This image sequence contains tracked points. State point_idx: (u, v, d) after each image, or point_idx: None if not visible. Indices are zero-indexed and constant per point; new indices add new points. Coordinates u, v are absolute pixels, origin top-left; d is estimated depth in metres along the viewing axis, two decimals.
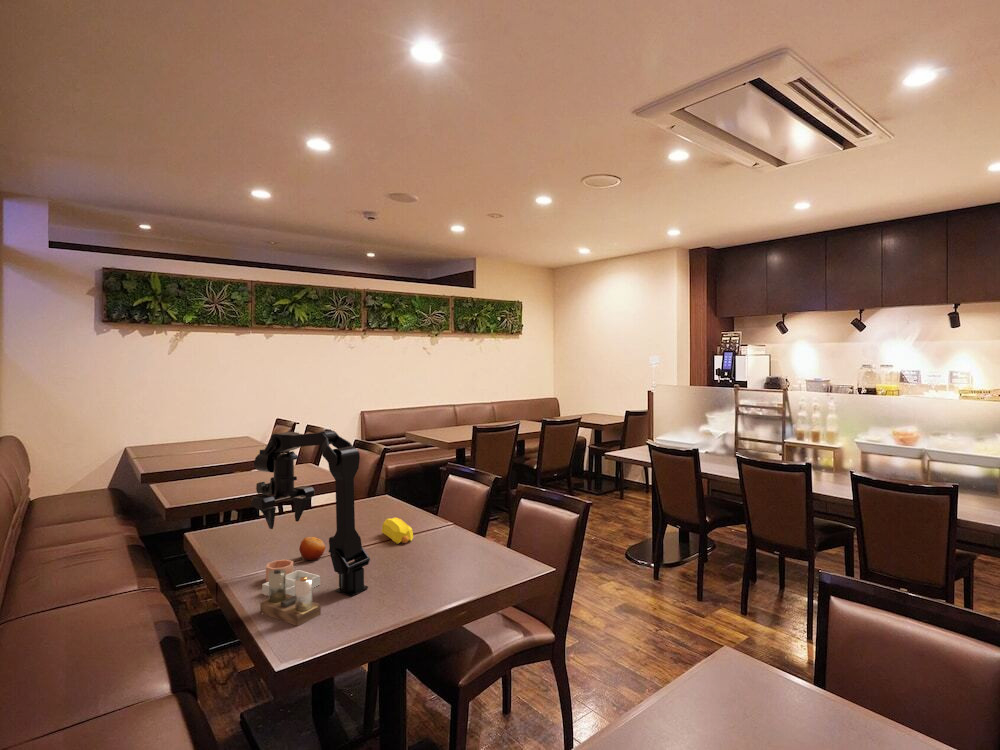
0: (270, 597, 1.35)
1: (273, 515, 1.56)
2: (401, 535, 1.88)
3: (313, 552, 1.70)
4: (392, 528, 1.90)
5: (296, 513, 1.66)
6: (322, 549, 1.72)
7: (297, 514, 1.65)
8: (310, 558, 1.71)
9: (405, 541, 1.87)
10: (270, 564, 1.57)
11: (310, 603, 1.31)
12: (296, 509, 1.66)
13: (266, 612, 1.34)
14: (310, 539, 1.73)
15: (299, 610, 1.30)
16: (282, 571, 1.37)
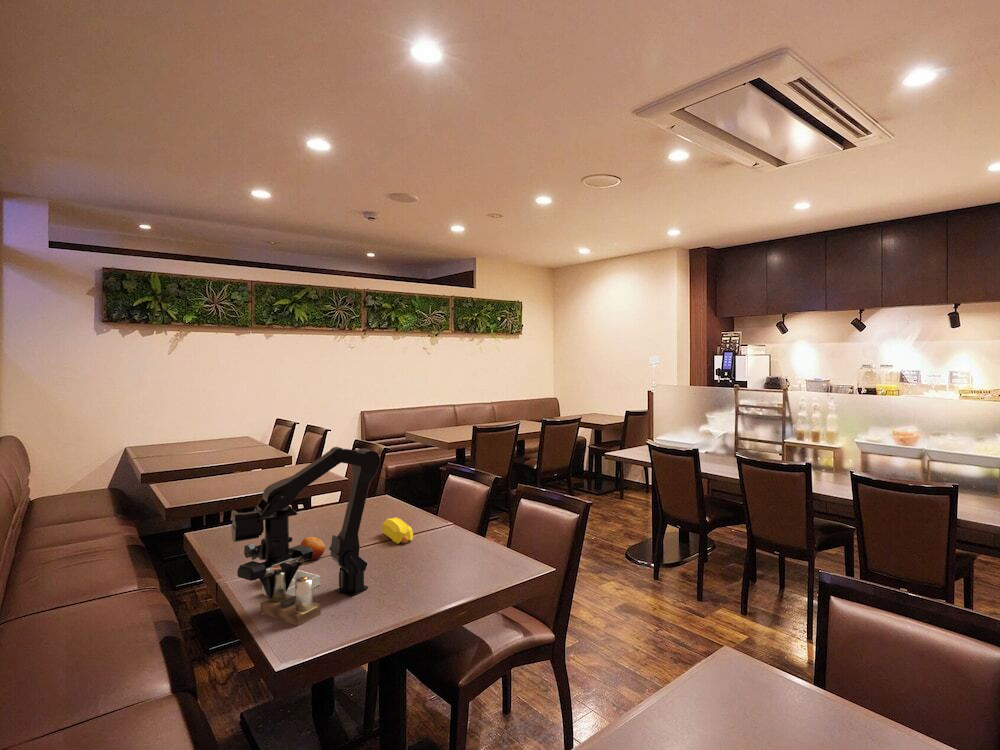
0: None
1: (272, 583, 1.33)
2: (401, 535, 1.88)
3: (313, 552, 1.70)
4: (392, 528, 1.91)
5: None
6: (322, 549, 1.72)
7: None
8: None
9: (405, 541, 1.87)
10: None
11: (310, 603, 1.31)
12: None
13: (266, 612, 1.34)
14: (310, 539, 1.73)
15: (299, 610, 1.30)
16: (282, 571, 1.37)
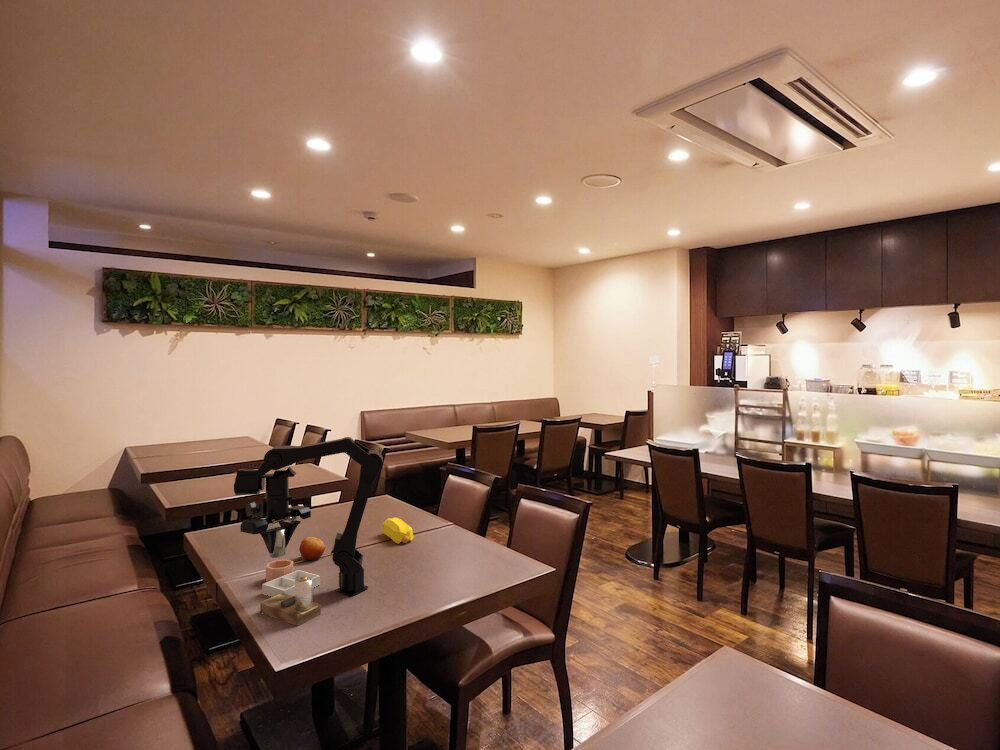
0: None
1: (273, 538, 1.41)
2: (401, 535, 1.88)
3: (313, 552, 1.70)
4: (392, 528, 1.91)
5: None
6: (322, 549, 1.72)
7: None
8: (310, 558, 1.71)
9: (405, 541, 1.87)
10: (270, 564, 1.57)
11: (310, 603, 1.31)
12: None
13: (266, 612, 1.34)
14: (310, 539, 1.73)
15: (299, 610, 1.30)
16: (282, 528, 1.45)
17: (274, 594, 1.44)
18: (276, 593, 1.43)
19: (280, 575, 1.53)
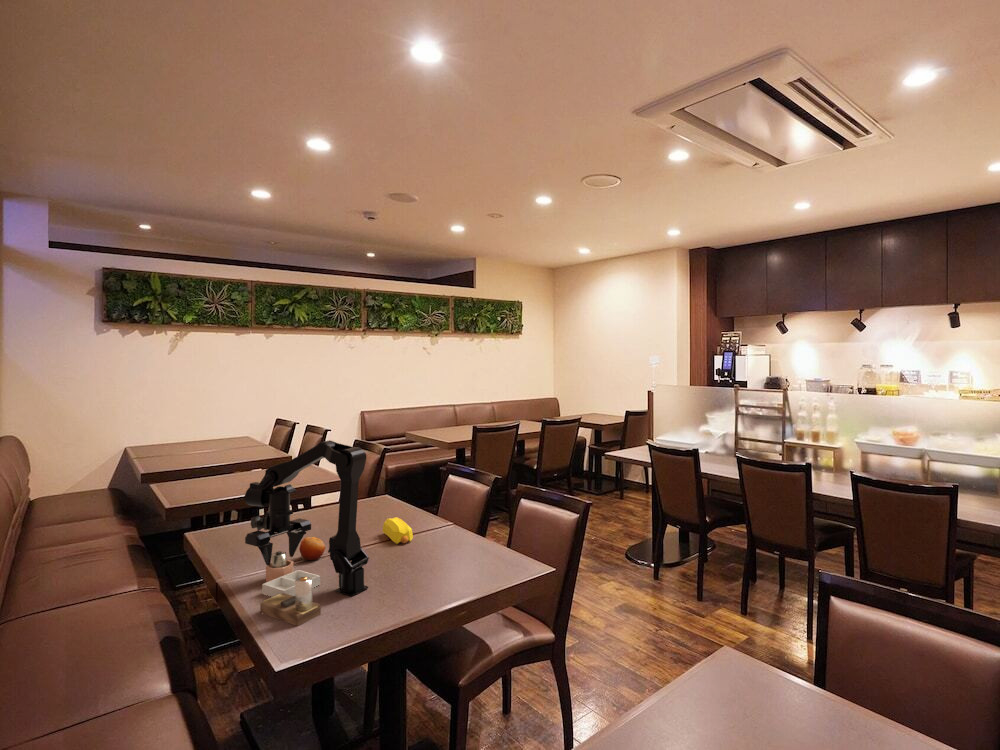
0: None
1: (270, 551, 1.51)
2: (400, 535, 1.88)
3: (313, 552, 1.70)
4: (391, 528, 1.91)
5: (290, 548, 1.59)
6: (322, 549, 1.72)
7: (291, 549, 1.59)
8: (310, 558, 1.71)
9: (404, 541, 1.87)
10: (270, 564, 1.57)
11: (310, 603, 1.31)
12: (290, 544, 1.60)
13: (266, 612, 1.34)
14: (310, 539, 1.73)
15: (299, 610, 1.30)
16: (283, 552, 1.57)
17: (274, 594, 1.44)
18: (276, 593, 1.43)
19: (280, 575, 1.53)
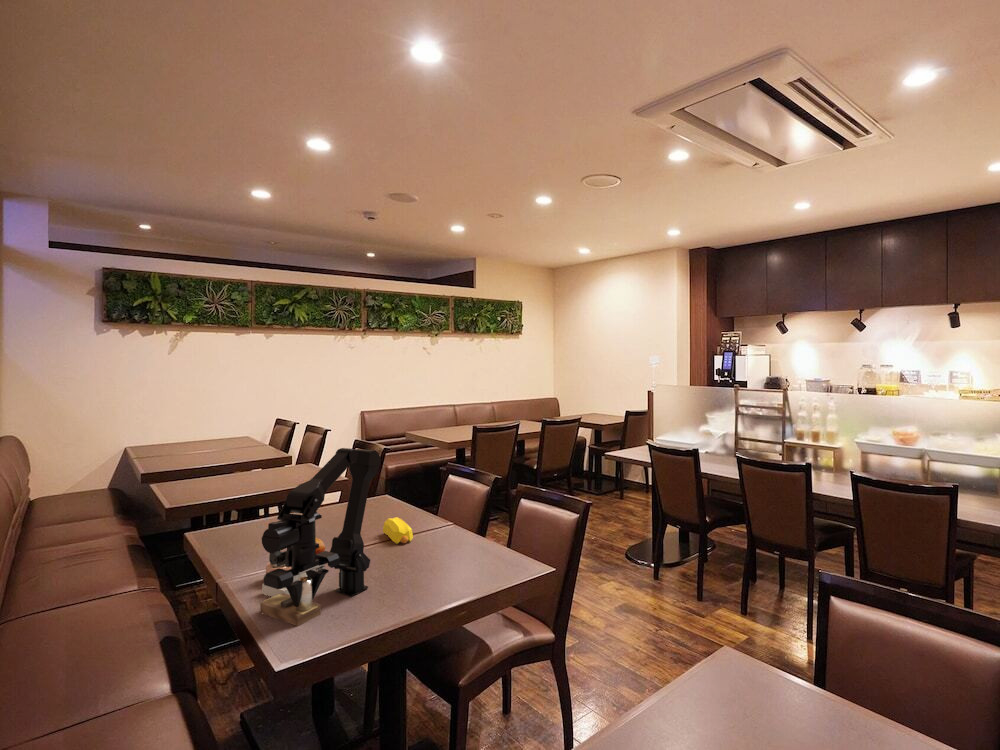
0: None
1: (299, 591, 1.28)
2: (400, 535, 1.88)
3: None
4: (391, 528, 1.91)
5: None
6: (322, 549, 1.72)
7: None
8: None
9: (404, 541, 1.87)
10: (270, 564, 1.57)
11: (310, 603, 1.31)
12: None
13: (266, 612, 1.34)
14: None
15: (299, 610, 1.30)
16: None
17: (274, 594, 1.44)
18: (276, 593, 1.43)
19: None
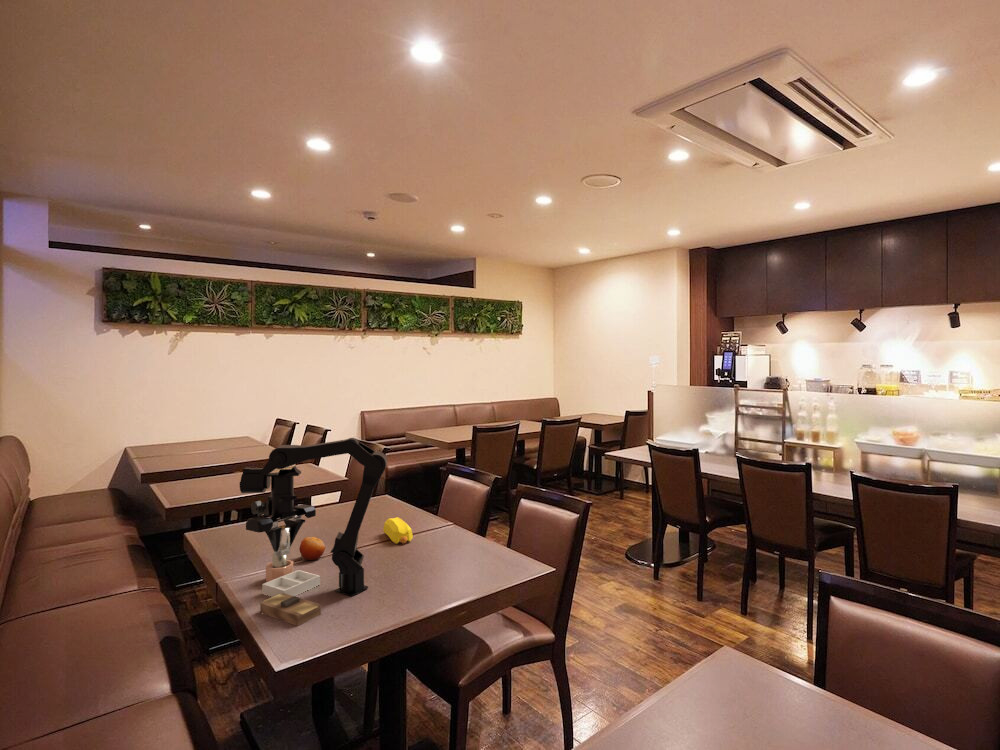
0: None
1: (278, 536, 1.42)
2: (400, 535, 1.87)
3: (313, 552, 1.70)
4: (391, 528, 1.91)
5: None
6: (322, 549, 1.72)
7: None
8: (310, 558, 1.71)
9: (403, 541, 1.87)
10: (270, 564, 1.57)
11: (288, 548, 1.45)
12: None
13: (266, 612, 1.34)
14: (310, 539, 1.72)
15: (278, 554, 1.44)
16: None
17: (274, 594, 1.44)
18: (276, 593, 1.43)
19: (280, 575, 1.53)
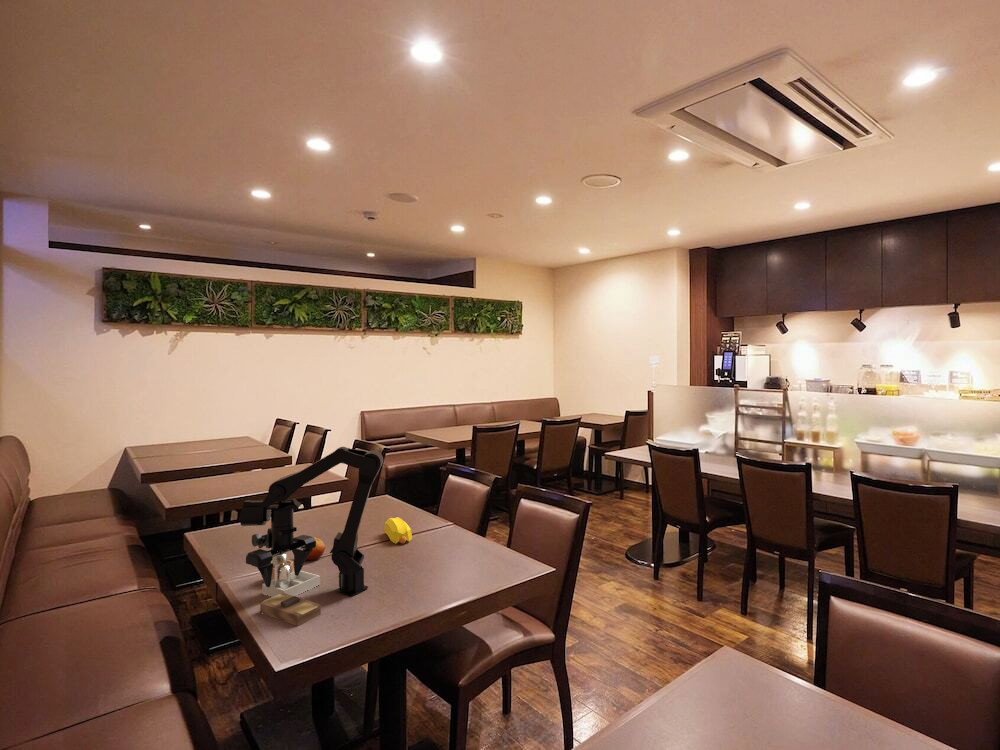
0: None
1: (270, 572, 1.41)
2: (399, 535, 1.87)
3: (313, 552, 1.70)
4: (391, 528, 1.91)
5: (296, 566, 1.50)
6: (322, 549, 1.72)
7: (297, 567, 1.50)
8: (310, 558, 1.71)
9: (402, 541, 1.87)
10: None
11: (288, 586, 1.46)
12: (296, 562, 1.51)
13: (266, 612, 1.34)
14: None
15: None
16: (284, 553, 1.57)
17: (274, 594, 1.44)
18: (276, 593, 1.43)
19: None
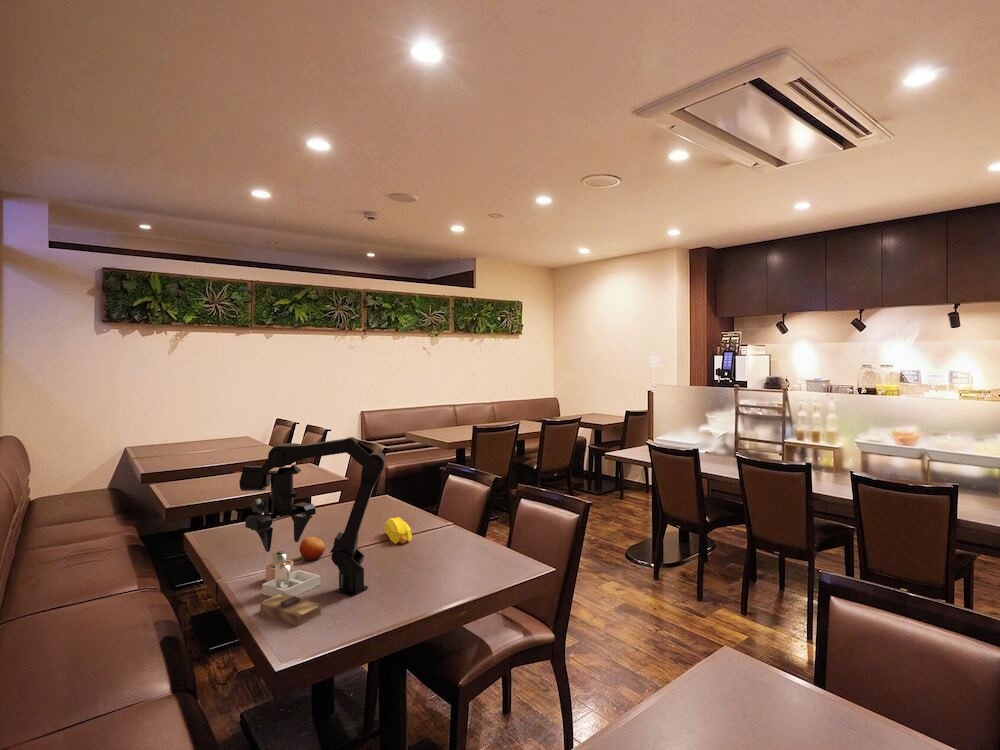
0: None
1: (270, 536, 1.41)
2: (399, 535, 1.87)
3: (313, 552, 1.70)
4: (391, 528, 1.91)
5: (295, 533, 1.50)
6: (322, 549, 1.72)
7: (296, 534, 1.50)
8: (310, 558, 1.71)
9: (402, 541, 1.87)
10: (270, 564, 1.57)
11: (288, 586, 1.46)
12: (295, 529, 1.50)
13: (266, 612, 1.34)
14: (310, 539, 1.73)
15: None
16: (284, 553, 1.57)
17: (274, 594, 1.44)
18: (276, 593, 1.43)
19: None
